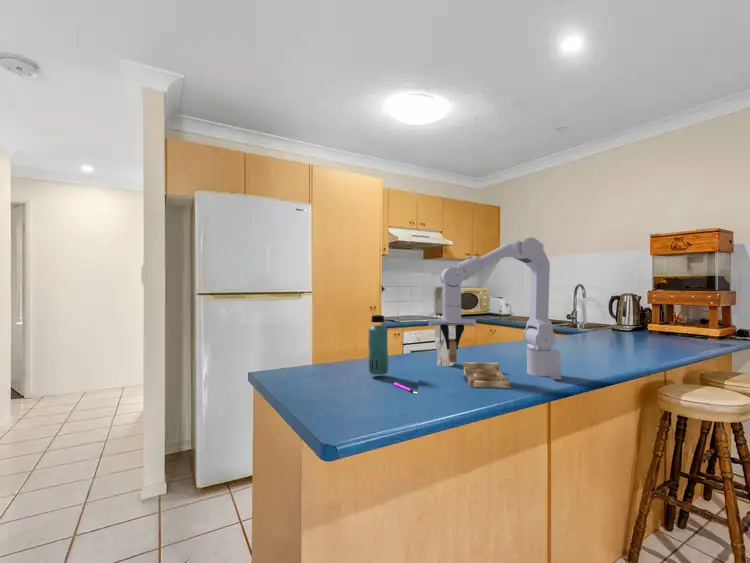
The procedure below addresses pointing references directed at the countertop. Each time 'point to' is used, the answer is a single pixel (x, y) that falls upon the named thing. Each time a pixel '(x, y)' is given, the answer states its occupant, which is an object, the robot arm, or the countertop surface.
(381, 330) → the beverage bottle
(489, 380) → the offcut low
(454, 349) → the tall board
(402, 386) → the pink paintbrush
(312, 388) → the countertop surface
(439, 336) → the beer glass
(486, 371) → the offcut top
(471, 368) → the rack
